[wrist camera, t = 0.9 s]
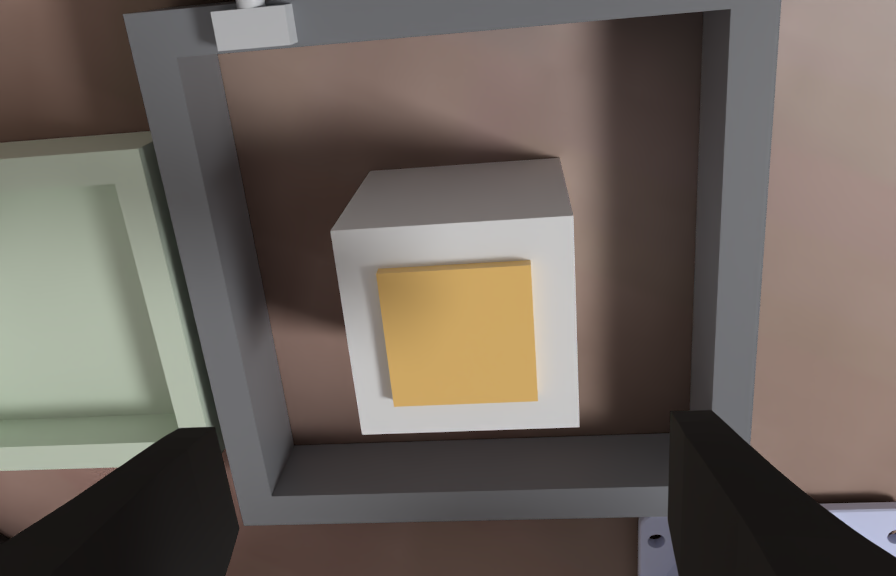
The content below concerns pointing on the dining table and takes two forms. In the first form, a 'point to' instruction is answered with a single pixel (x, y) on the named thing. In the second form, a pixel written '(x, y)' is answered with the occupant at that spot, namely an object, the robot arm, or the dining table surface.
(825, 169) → the dining table surface
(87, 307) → the bay
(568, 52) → the dining table surface
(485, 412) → the block
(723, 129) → the case
